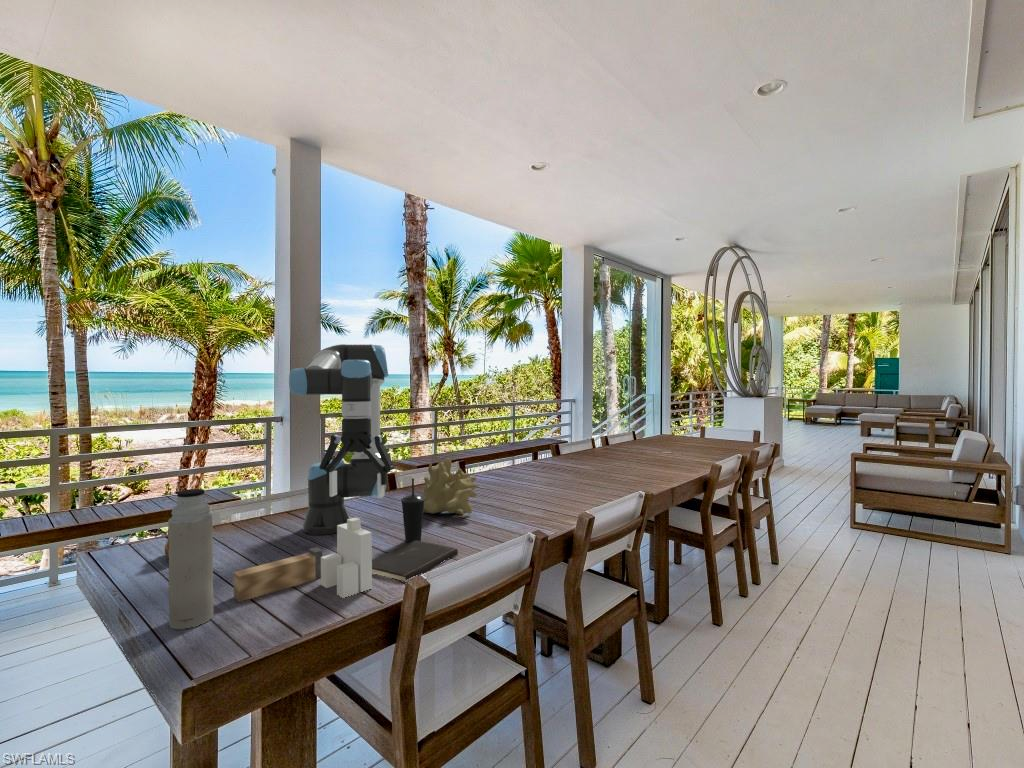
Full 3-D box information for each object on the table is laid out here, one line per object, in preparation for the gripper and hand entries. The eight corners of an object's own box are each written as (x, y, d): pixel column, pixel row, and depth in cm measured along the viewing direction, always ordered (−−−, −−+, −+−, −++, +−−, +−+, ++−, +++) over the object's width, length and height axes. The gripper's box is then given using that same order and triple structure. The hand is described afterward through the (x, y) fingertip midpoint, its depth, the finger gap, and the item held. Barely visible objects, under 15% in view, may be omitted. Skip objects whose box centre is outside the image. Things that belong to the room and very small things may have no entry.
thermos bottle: (160, 630, 102) (159, 495, 102) (183, 612, 110) (181, 486, 110) (201, 628, 103) (199, 494, 102) (220, 610, 111) (219, 486, 110)
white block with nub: (320, 584, 125) (320, 519, 125) (348, 575, 130) (347, 513, 130) (343, 599, 116) (342, 529, 116) (372, 589, 122) (371, 522, 122)
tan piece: (239, 602, 115) (239, 572, 115) (233, 597, 118) (233, 567, 118) (322, 577, 129) (322, 550, 129) (316, 573, 132) (316, 547, 132)
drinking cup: (420, 545, 153) (419, 481, 153) (397, 544, 155) (396, 480, 155) (429, 538, 161) (428, 476, 161) (407, 536, 162) (406, 475, 162)
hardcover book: (360, 573, 133) (360, 564, 133) (415, 547, 153) (415, 540, 153) (406, 585, 126) (406, 576, 126) (458, 556, 146) (458, 548, 146)
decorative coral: (410, 476, 204) (455, 439, 199) (445, 513, 208) (490, 478, 203) (393, 506, 179) (444, 465, 174) (434, 547, 183) (485, 508, 178)
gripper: (305, 418, 131) (306, 498, 131) (395, 418, 127) (395, 501, 127) (320, 416, 138) (321, 491, 138) (405, 416, 134) (406, 494, 135)
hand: (357, 496), depth 133 cm, fingers open, 13 cm apart
